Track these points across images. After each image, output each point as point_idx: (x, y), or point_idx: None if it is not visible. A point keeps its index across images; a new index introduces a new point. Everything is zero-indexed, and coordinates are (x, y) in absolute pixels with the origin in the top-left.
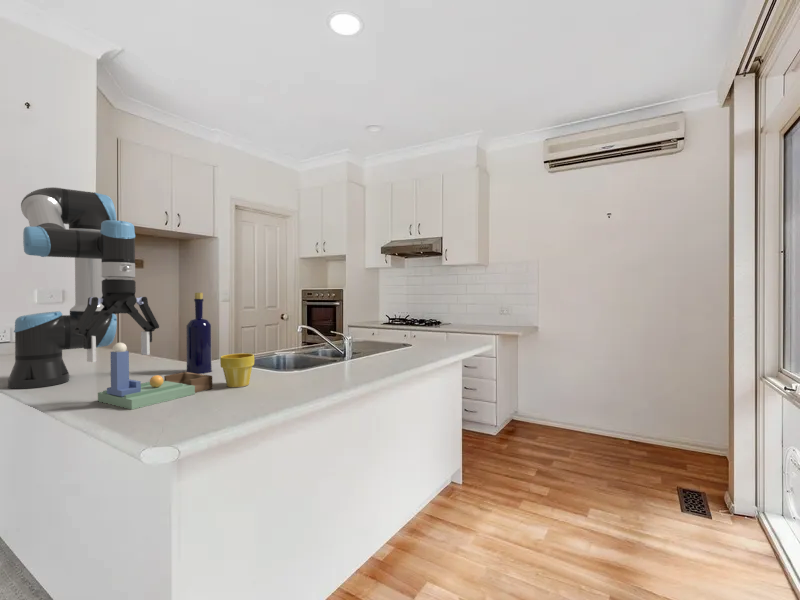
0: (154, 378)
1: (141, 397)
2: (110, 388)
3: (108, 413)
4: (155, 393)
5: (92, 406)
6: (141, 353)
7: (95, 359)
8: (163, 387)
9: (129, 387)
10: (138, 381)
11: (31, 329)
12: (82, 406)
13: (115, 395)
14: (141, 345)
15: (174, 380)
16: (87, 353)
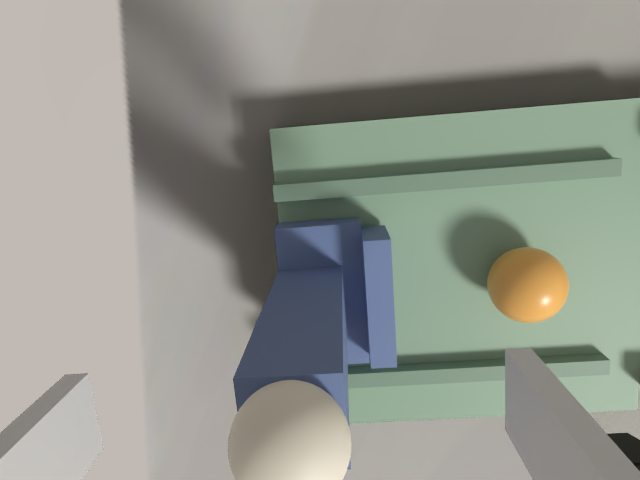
0: (511, 310)
1: None
2: (280, 259)
3: (223, 378)
4: (426, 399)
5: (225, 204)
6: (507, 356)
7: (90, 460)
8: (492, 377)
9: (350, 321)
10: (388, 361)
11: None
12: (197, 163)
13: None
14: (539, 397)
15: None
16: (27, 417)
